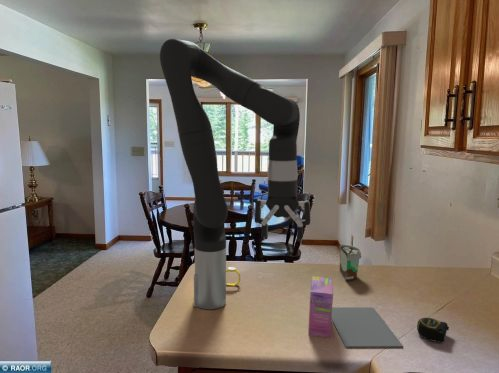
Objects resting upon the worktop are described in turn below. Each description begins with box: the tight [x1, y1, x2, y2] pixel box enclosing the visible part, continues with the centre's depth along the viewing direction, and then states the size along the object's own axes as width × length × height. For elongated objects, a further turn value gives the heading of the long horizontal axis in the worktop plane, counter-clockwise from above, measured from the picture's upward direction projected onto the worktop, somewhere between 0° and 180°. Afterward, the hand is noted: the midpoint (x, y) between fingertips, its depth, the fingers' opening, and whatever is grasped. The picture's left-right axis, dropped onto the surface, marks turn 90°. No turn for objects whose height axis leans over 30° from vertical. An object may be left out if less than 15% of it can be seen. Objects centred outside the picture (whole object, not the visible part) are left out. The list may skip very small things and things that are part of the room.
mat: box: [331, 306, 404, 349], centre depth 100 cm, size 14×20×1 cm
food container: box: [339, 244, 362, 282], centre depth 134 cm, size 12×6×10 cm, turn 179°
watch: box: [226, 266, 241, 287], centre depth 125 cm, size 6×3×6 cm, turn 91°
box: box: [307, 275, 334, 339], centre depth 98 cm, size 10×6×12 cm, turn 168°
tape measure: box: [416, 317, 450, 343], centre depth 95 cm, size 7×7×4 cm
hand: (282, 239), depth 98 cm, fingers open, 8 cm apart
